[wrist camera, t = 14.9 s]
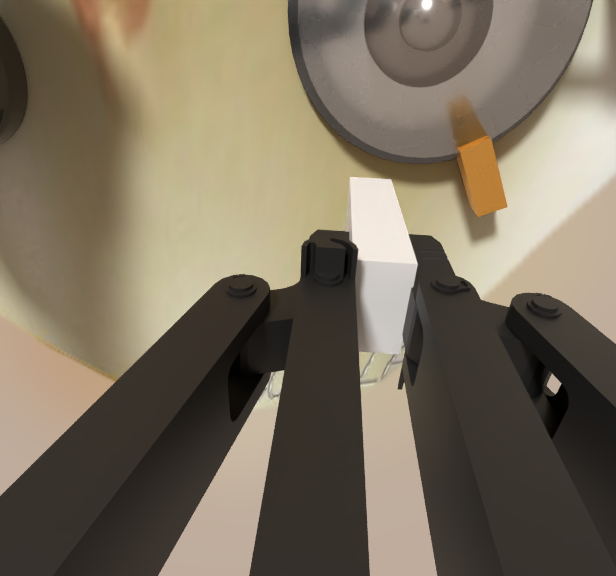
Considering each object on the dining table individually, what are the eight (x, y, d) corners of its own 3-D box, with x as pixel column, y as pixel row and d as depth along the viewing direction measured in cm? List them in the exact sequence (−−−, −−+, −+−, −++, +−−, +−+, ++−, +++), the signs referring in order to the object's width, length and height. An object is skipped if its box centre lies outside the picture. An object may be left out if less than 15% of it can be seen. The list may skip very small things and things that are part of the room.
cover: (385, 101, 33) (389, 110, 28) (346, -13, 29) (345, -22, 25) (490, 52, 30) (512, 55, 26) (462, -78, 27) (483, -99, 23)
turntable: (377, 238, 41) (379, 252, 38) (254, -68, 30) (245, -78, 27) (606, 155, 35) (626, 164, 32) (557, -262, 24) (582, -298, 22)
